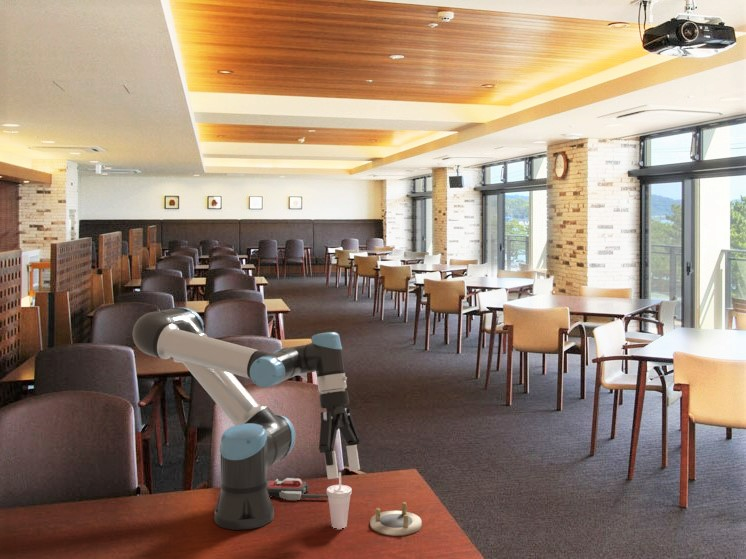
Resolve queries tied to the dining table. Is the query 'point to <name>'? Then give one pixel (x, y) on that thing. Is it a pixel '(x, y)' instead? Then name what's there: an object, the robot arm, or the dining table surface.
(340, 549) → the dining table surface
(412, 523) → the cup holder base
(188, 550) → the dining table surface
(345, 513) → the smoothie
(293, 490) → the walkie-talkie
